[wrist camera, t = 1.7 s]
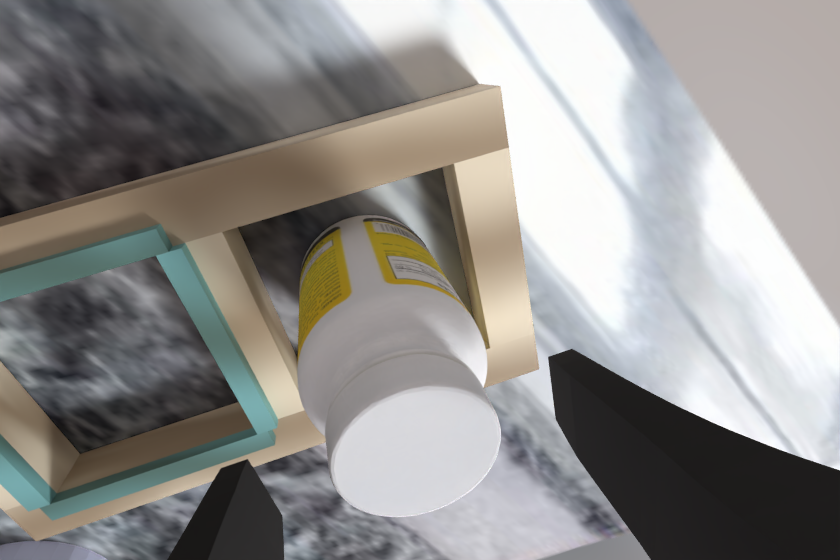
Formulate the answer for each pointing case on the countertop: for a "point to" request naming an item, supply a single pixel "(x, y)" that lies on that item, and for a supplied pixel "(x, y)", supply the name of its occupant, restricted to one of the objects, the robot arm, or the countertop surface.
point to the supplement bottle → (392, 370)
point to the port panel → (248, 293)
